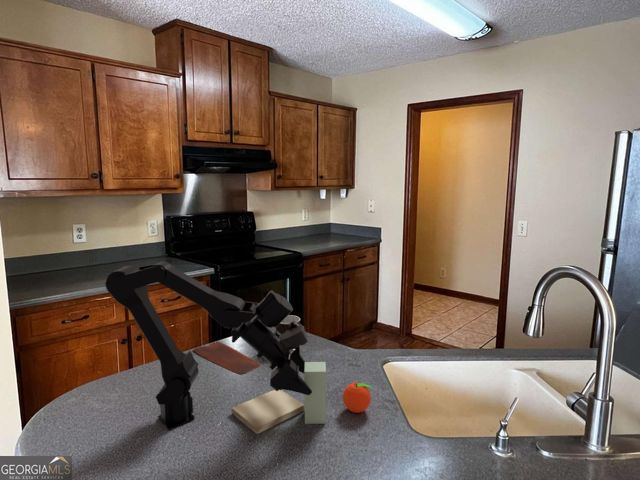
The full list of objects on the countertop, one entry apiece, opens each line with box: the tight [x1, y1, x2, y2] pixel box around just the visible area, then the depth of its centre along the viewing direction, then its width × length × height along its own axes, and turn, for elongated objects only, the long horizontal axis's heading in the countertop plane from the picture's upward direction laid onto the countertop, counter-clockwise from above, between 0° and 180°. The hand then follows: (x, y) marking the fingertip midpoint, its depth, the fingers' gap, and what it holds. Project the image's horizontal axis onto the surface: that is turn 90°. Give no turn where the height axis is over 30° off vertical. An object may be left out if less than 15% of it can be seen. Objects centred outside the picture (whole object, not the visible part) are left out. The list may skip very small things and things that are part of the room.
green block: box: [303, 361, 327, 425], centre depth 97 cm, size 5×5×13 cm
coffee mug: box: [275, 314, 301, 334], centre depth 139 cm, size 12×9×10 cm
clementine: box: [342, 382, 375, 414], centre depth 100 cm, size 8×7×7 cm
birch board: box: [231, 389, 305, 435], centre depth 100 cm, size 14×11×2 cm
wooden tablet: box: [192, 340, 261, 375], centre depth 131 cm, size 27×10×2 cm, turn 47°
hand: (310, 383), depth 96 cm, fingers open, 9 cm apart
